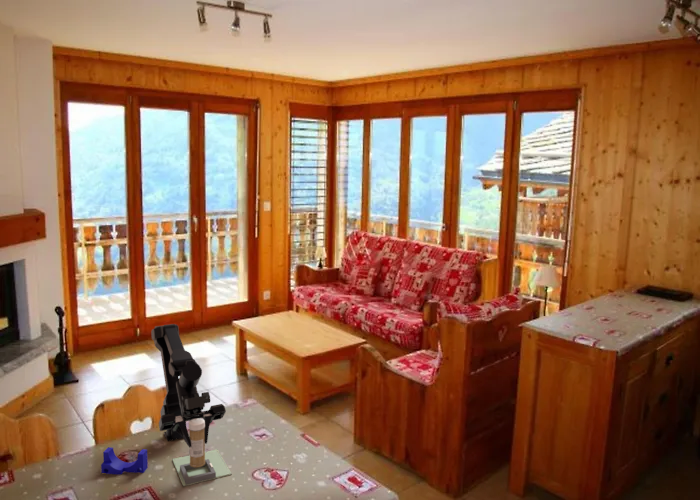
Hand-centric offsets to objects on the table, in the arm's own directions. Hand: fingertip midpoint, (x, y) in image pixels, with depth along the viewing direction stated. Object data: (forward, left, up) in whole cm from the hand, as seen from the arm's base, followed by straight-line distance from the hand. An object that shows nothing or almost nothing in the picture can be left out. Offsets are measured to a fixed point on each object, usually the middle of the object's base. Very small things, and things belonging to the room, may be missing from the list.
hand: (198, 445), depth 162 cm
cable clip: (-13, -19, -10) cm, 25 cm away
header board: (-5, +2, -10) cm, 11 cm away
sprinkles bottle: (-1, 0, -7) cm, 7 cm away
